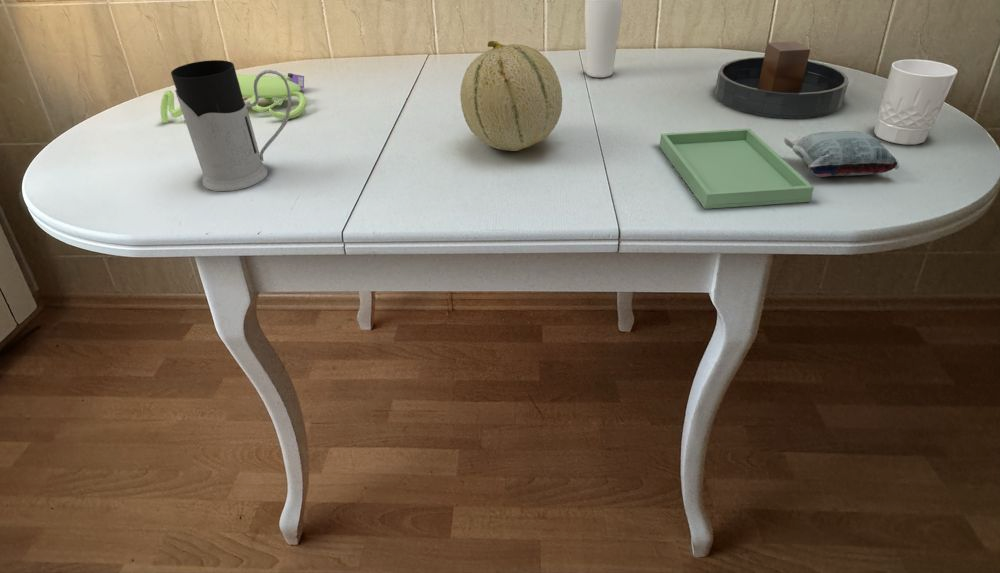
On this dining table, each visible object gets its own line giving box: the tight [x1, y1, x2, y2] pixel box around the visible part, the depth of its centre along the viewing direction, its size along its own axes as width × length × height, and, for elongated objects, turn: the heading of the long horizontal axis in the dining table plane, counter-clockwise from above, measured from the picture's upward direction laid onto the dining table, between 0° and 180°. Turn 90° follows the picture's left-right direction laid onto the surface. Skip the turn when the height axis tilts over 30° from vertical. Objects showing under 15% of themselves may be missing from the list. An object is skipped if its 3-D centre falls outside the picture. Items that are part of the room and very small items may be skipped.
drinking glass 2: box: [584, 0, 624, 79], centre depth 116 cm, size 7×7×15 cm
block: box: [758, 40, 811, 93], centre depth 104 cm, size 5×5×8 cm
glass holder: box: [170, 59, 292, 192], centre depth 84 cm, size 9×14×15 cm, turn 111°
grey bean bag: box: [783, 130, 900, 178], centre depth 82 cm, size 9×12×5 cm
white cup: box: [873, 58, 958, 145], centre depth 89 cm, size 8×8×10 cm
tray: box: [659, 127, 815, 210], centre depth 83 cm, size 19×13×2 cm
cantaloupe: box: [459, 40, 563, 152], centre depth 89 cm, size 15×15×15 cm
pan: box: [714, 56, 849, 120], centre depth 106 cm, size 20×20×4 cm
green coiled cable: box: [160, 72, 308, 124], centre depth 111 cm, size 18×27×6 cm
